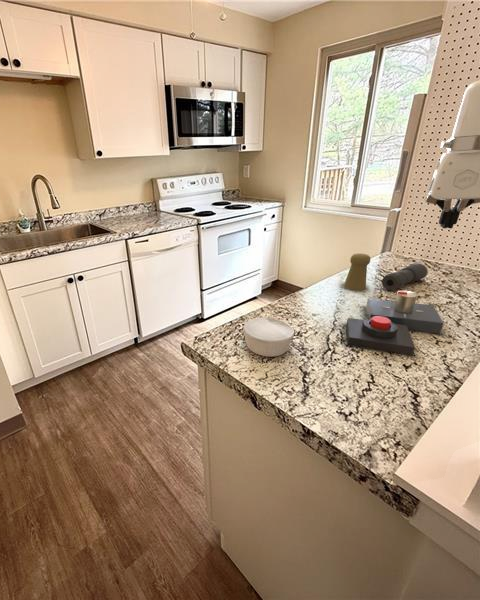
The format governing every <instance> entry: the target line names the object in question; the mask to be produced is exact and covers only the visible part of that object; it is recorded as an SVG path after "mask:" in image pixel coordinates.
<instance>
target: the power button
mask: <svg viewBox="0 0 480 600" xmlns="http://www.w3.org/2000/svg"><path fill="white" fill-rule="evenodd" d="M390 323H391V320H390V319H388V318H386V317H382V316H374V317H372V320H371V324H370V325H371V326H373V327H375V328H378V329H389V327H390Z"/></svg>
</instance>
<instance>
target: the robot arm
mask: <svg viewBox="0 0 480 600" xmlns="http://www.w3.org/2000/svg"><path fill="white" fill-rule="evenodd" d="M451 135H452V136H451V137H450V139H448V140H446V141H445V140H444V141H442V142H441V144H440V149H447V152H444V153H443V154H442V155H441V157H440V159H439V161H438V163H437V165H436V168H435V170H434V173H433V176H432V178H431V181H430V184H429V188H428V190H427V191H428V192H427V193H428V194H427V196H426V197H425V199H424V202H425V203H427V204H431V205H437V207H439V208H440V210H441V213H440V216H439V219H438V224H439V226H440V227H441V228H442V229H453V228H454V225H457V224H458V221H459V218H460V214H461V212H463V211H464V210H465V209H466V208H468V207H470V206H472V205H475V204H479V203H480V79H479V80H476V81H473V82H471V83H470V84H468V86H467V87H466V88H465V91H464V94H463V97H462V100H461V104H460V107H459V111H458V114H457V118H456V122H455V124H454V128H453V131H452V134H451ZM452 200H456V201H455V203H454V206H453V207H452Z"/></svg>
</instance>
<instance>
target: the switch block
mask: <svg viewBox="0 0 480 600" xmlns="http://www.w3.org/2000/svg"><path fill="white" fill-rule="evenodd" d="M371 320H372V318H368V317H366V319H360V318H353V317H347V320H346V327H345V328H346V342H347V346H351V347H357V348H364V349H370V350H375V351H380V352H381V351H382V352H386V353H387V352H388V353H393V354H401V355H406V356H413V354H414V352H415V349H416V346H415V344H414V342H413V339H412V336H411V333H410V330H408V328H407V325H400V324H394V323H392V322H391V323H390V327H389V329H378V328H375V327H373V326H371V325H370V324H371Z"/></svg>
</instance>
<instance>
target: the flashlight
mask: <svg viewBox="0 0 480 600" xmlns="http://www.w3.org/2000/svg"><path fill="white" fill-rule="evenodd" d="M428 274H429V268H428V267H427V266H426V265H425V264H423V263H421V262H413V263H412V264H409V265H406V266H405V267H403V268H401V269H400V270H399V271H395V272H390V273H387V274H386V275H384V276H383V277H382V279H381V285H382V287H383V288H384V289H385V290H387V291H396V290H399V289H401V288H403V287H404V286H405V285H406V284H411V283H414V282H418V281H420V280H423V279H425V278H426V277H427V276H428Z"/></svg>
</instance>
